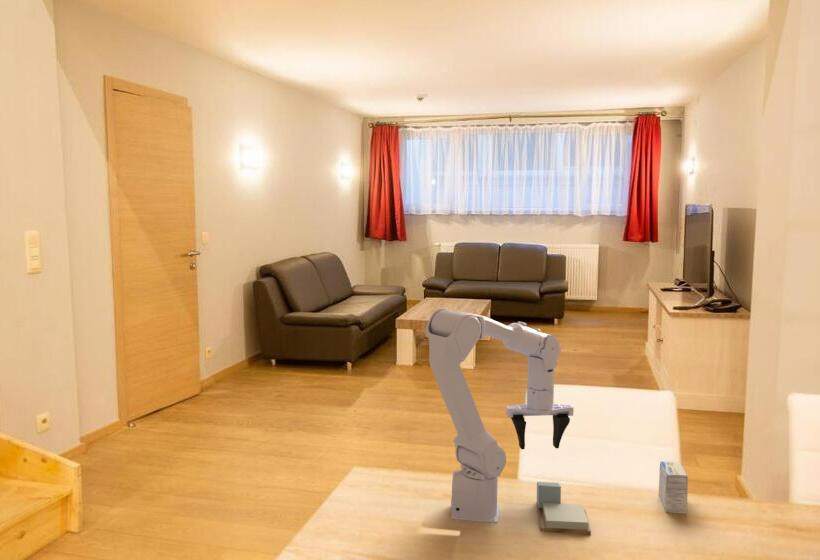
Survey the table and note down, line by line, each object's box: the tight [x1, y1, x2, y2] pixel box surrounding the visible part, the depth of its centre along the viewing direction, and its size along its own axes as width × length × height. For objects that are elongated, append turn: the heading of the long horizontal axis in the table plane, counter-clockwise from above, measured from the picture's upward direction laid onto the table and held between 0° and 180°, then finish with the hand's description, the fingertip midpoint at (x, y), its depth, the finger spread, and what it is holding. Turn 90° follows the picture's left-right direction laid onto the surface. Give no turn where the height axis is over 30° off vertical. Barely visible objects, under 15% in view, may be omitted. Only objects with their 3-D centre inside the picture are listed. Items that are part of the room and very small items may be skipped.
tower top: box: [543, 502, 589, 530], centre depth 133 cm, size 8×8×2 cm
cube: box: [536, 481, 562, 509], centre depth 140 cm, size 4×4×4 cm
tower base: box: [538, 508, 592, 536], centre depth 134 cm, size 10×10×2 cm
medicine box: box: [658, 460, 689, 514], centre depth 140 cm, size 8×4×9 cm, turn 168°
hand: (538, 447), depth 146 cm, fingers open, 7 cm apart
